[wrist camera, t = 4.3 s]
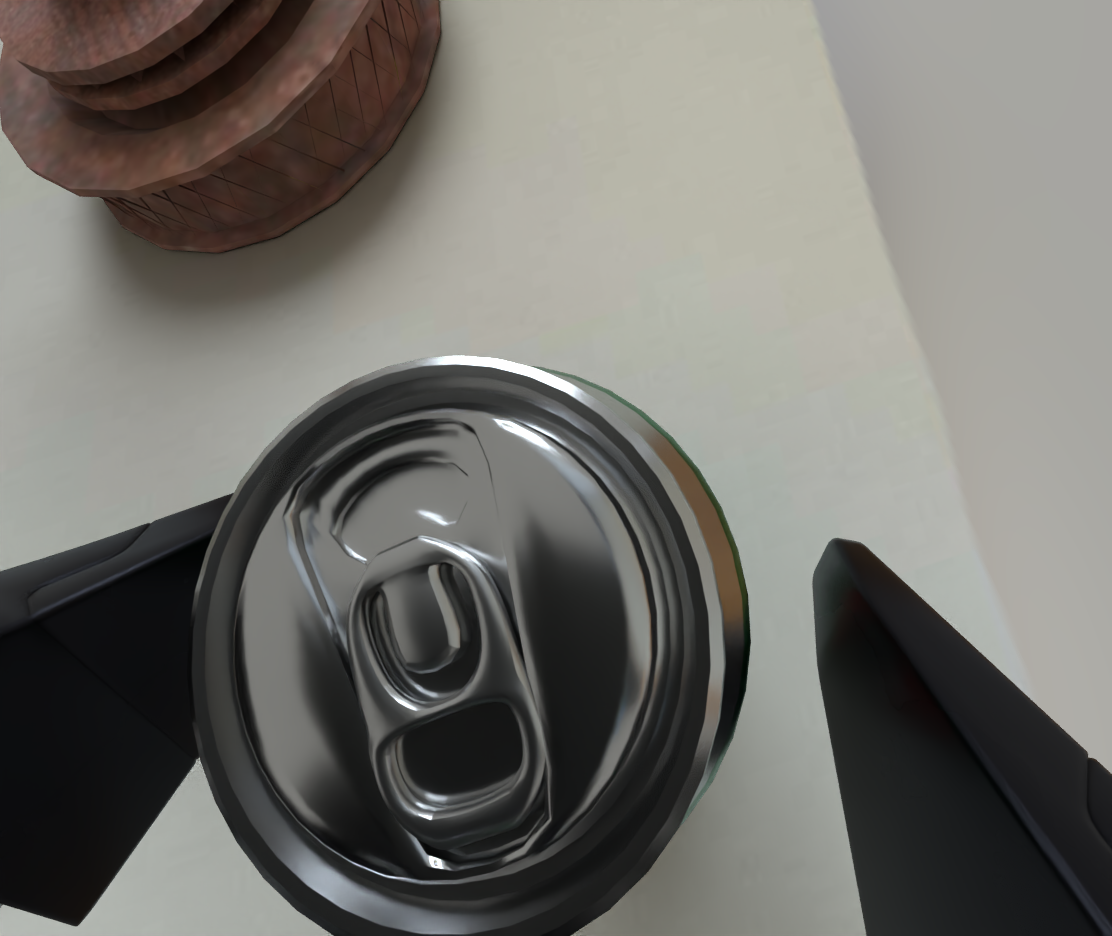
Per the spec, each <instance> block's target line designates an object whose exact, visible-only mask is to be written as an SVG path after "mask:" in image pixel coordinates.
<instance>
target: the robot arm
mask: <svg viewBox="0 0 1112 936" xmlns="http://www.w3.org/2000/svg"><path fill="white" fill-rule="evenodd" d="M233 494H234V493H232V494H229V495H226V496H223V497H221V498H218V499H215V500H212V501H209V502H206V503H204V504H201V505H198V506H195V507H192V508H189V509H187V510H184V511H181V512H178V513H175V514H173V515H170V516H167V517H164V518H161V519H158V520H156V521H153V522H152V523H147V524H144V525H141V526H138V527H136V528H133V529H130V530H127V531H124V532H121V533H118V534H115V535H113V536H110V537H107V538H104V539H101V540H98V541H95V542H92V543H89V544H86V545H83V546H80V547H77V548H74V549H71V550H68V551H64V552H61V553H58V554H55V555H52V556H49V557H46V558H42V559H39V560H36V561H33V562H30V563H26V564H23V565H20V566H17V567H14V568H10V569H7V570H4V571H1V572H0V907H1V906H2V905H3V904H4V905H7V906H10V907H14V908H17V909H20V910H23V911H27V912H30V913H33V914H36V915H40V916H43V917H46V918H50V919H53V920H56V921H59V922H63V923H66V924H69V925H72V926H78V925H79V924H80V923H81V922H82V921H83V920H84V918H85V917H86V916H87V915H88V914H89V912H90V911H91V910H92V908H93V907H94V906H95V904H96V903H97V902H98V900H99V899H100V897H101V896H102V894H103V893H104V892H105V890H106V889H107V887H108V886H109V885H110V883H111V882H112V880H113V879H114V878H115V876H116V875H117V873H118V872H119V870H120V869H121V868H122V866H123V865H124V863H125V862H126V861H127V859H128V858H129V856H130V855H131V854H132V852H133V851H134V849H135V848H136V846H137V845H138V844H139V842H140V841H141V839H142V838H143V837H144V835H145V834H146V832H147V831H148V829H149V828H150V827H151V825H152V824H153V822H154V821H155V820H156V818H157V817H158V815H159V814H160V813H161V811H162V810H163V808H164V807H165V805H166V804H167V803H168V801H169V800H170V798H171V797H172V796H173V794H174V793H175V791H176V790H177V788H178V787H179V786H180V784H181V783H182V781H183V780H184V779H185V777H186V776H187V774H188V773H189V772H190V770H191V769H192V767H193V766H194V764H195V763H196V759H198V758H199V752H198V747H197V743H196V738H195V734H194V729H193V725H192V720H191V713H190V702H189V690H188V679H187V663H188V635H189V626H190V620H191V613H192V607H193V601H194V595H195V589H196V586H197V582H198V579H199V575H200V572H201V568H202V565H203V561H204V558H205V554H206V551H207V548H208V546H209V544H210V541H211V539H212V536H213V534H214V532H215V529H216V527H217V525H218V522H219V520H220V517H221V515H222V513H223V511H224V510H225V508H226V506H227V504H228V503H229V501H230V499H231V497H232V496H233ZM813 601H814V619H815V637H816V654H817V666H818V673H819V679H820V685H821V690H822V696H823V701H824V707H825V712H826V718H827V723H828V728H829V734H830V739H831V745H832V750H833V756H834V761H835V766H836V772H837V777H838V783H839V788H840V794H841V799H842V804H843V810H844V815H845V821H846V826H847V832H848V837H849V842H850V848H851V853H852V859H853V864H854V870H855V875H856V880H857V886H858V891H859V897H860V902H861V908H862V913H863V918H864V924H865V929H866V935H867V936H1112V774H1111V773H1110V772H1109V771H1108V770H1107V769H1105V768H1104V767H1103V766H1102V765H1101V764H1100V763H1099V762H1098V761H1097V760H1095V759H1093V758H1088V753H1087V751H1086V750H1085V749H1084V748H1083V747H1081V746H1080V745H1079V744H1078V743H1077V742H1076V741H1075V740H1074V739H1073V738H1072V737H1071V736H1070V735H1068V734H1067V733H1066V732H1065V731H1064V730H1063V729H1062V728H1061V727H1060V726H1059V725H1058V724H1057V723H1055V722H1054V721H1053V720H1052V719H1051V718H1050V717H1049V716H1048V715H1047V714H1046V713H1045V712H1044V711H1043V710H1042V709H1041V708H1039V707H1038V706H1037V705H1036V704H1035V703H1034V702H1033V701H1032V700H1031V699H1030V698H1029V697H1028V696H1027V695H1025V694H1024V693H1023V692H1022V691H1021V690H1020V689H1019V688H1018V687H1017V686H1016V685H1015V684H1014V683H1013V682H1011V681H1010V680H1009V679H1008V678H1007V677H1006V676H1005V675H1004V674H1003V673H1002V672H1001V671H1000V670H998V669H997V668H996V667H995V666H994V665H993V664H992V663H991V662H990V661H989V660H988V659H987V658H986V657H984V656H983V655H982V654H981V653H980V652H979V651H978V650H977V649H976V648H975V647H974V646H973V645H972V644H970V643H969V642H968V641H967V640H966V639H965V638H964V637H963V636H962V635H961V634H960V633H959V632H958V631H956V630H955V629H954V628H953V627H952V626H951V625H950V624H949V623H948V622H947V621H946V620H945V619H944V618H942V617H941V616H940V615H939V614H938V613H937V612H936V611H935V610H934V609H933V608H932V607H931V606H929V605H928V604H927V603H926V602H925V601H924V600H923V599H922V598H921V597H920V596H919V595H918V594H917V593H915V592H914V591H913V590H912V589H911V588H910V587H909V586H908V585H907V584H906V583H905V582H904V581H903V580H901V579H900V578H899V577H898V576H897V575H896V574H895V573H894V572H893V571H892V570H891V569H890V568H889V567H887V566H886V565H885V564H884V563H883V562H882V561H881V560H880V559H879V558H878V557H877V556H876V555H875V554H873V553H872V552H871V551H870V550H869V549H868V548H867V547H866V546H865V545H863V544H862V543H860V542H857V541H852V540H846V539H840V538H834V539H832V540H831V541H830V542H829V543H828V545H827V547H826V549H825V551H824V553H823V555H822V557H821V559H820V561H819V563H818V565H817V567H816V569H815V571H814V574H813Z"/></svg>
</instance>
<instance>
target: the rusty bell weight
mask: <svg viewBox="0 0 1112 936" xmlns="http://www.w3.org/2000/svg"><path fill="white" fill-rule="evenodd" d="M440 33H441V30H440V16H439V2H438V0H0V39H1V40H2V42H3V49H2V54H1V59H0V116H1V124H2V130H3V132H4V133H5V135H6V136H7V138H8V139H9V141H10V142H11V144H12V145H13V147H14V148H15V150H16V151H17V152H18V154H19V155H20V157H21V158H22V160H23V161H24V163H25V164H26V166H27V167H28V168H29V169H31V170H32V171H33V172H34V173H36V174H37V175H39V176H41V177H43V178H45V179H47V180H49V181H51V182H53V183H55V184H57V185H59V186H60V187H62V188H64V189H66V190H68V191H70V192H72V193H74V194H76V195H78V196H83V197H100V198H102V199H103V200H104V202H105V203H106V205H107V206H108V207H109V209H110V210H111V212H112V213H113V214H114V216H115V217H116V219H117V220H118V221H119V223H120V224H121V225H122V227H123V228H125V229H127V230H129V231H130V232H132V233H134V234H136V235H138V236H140V237H142V238H144V239H146V240H148V241H150V242H151V243H153V244H155V245H157V246H159V247H161V248H163V249H167V250H181V251H197V252H214V253H221V252H224V251H228V250H232V249H235V248H239V247H242V246H246V245H250V244H253V243H257V242H260V241H264V240H267V239H271V238H275V237H278V236H280V235H282V234H283V233H285V232H287V231H288V230H290V229H292V228H293V227H295V226H297V225H298V224H300V223H302V222H303V221H305V220H307V219H308V218H310V217H312V216H313V215H315V214H317V213H318V212H320V211H322V210H323V209H325V208H327V207H328V206H330V205H332V204H333V203H335V202H337V201H338V200H339V199H340V198H341V197H342V196H343V195H344V194H345V193H346V192H347V191H348V190H349V189H350V188H351V187H352V186H353V185H354V184H355V183H356V182H357V181H358V180H359V179H360V178H361V177H362V176H363V175H364V174H365V173H366V172H367V171H368V170H369V169H370V168H371V167H372V166H373V165H374V164H375V163H376V162H377V161H378V160H379V159H380V158H381V157H382V156H383V155H384V154H385V153H386V152H387V151H388V150H389V149H390V147H391V145H392V144H393V142H394V141H395V139H396V137H397V136H398V134H399V132H400V131H401V129H402V127H403V126H404V124H405V122H406V121H407V119H408V118H409V116H410V114H411V113H412V111H413V109H414V108H415V106H416V104H417V103H418V101H419V99H420V98H421V96H422V95H423V93H424V91H425V87H426V84H427V80H428V76H429V73H430V69H431V66H432V62H433V58H434V55H435V51H436V47H437V44H438V40H439V37H440Z"/></svg>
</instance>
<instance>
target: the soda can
mask: <svg viewBox="0 0 1112 936" xmlns="http://www.w3.org/2000/svg"><path fill="white" fill-rule="evenodd" d="M750 645H751V638H750V621H749V605H748V593H747V588H746V584H745V579H744V575H743V570H742V566H741V561H740V557H739V552H738V548H737V546H736V543H735V541H734V538H733V536H732V533H731V531H730V528H729V526H728V523H727V521H726V518H725V515H724V513H723V510H722V508H721V506H720V504H719V503H718V501H717V499H716V497H715V496H714V494H713V492H712V491H711V489H710V487H709V486H708V484H707V482H706V481H705V479H704V477H703V475H702V474H701V472H700V470H699V469H698V468H697V467H696V465H695V464H694V463H693V462H692V460H691V459H690V458H689V457H688V456H687V454H686V453H685V452H684V451H683V450H682V448H681V447H680V446H679V445H678V444H677V442H676V441H675V440H674V439H673V437H671V436H670V435H669V434H668V433H667V432H666V431H665V430H663V429H662V428H661V427H660V426H659V425H658V424H657V423H655V422H654V421H653V420H652V419H651V418H650V417H649V416H648V415H646V414H645V413H644V412H643V411H642V410H640V409H638V408H637V407H635V406H634V405H632V404H631V403H629V402H627V401H626V400H624V399H623V398H621V397H619V396H618V395H616V394H615V393H613V392H612V391H610V390H608V389H605V388H603V387H601V386H598V385H596V384H594V383H591V382H589V381H587V380H584V379H582V378H580V377H577V376H575V375H571V374H567V373H563V372H559V371H555V370H550V369H546V368H542V367H535V366H524V365H520V364H516V363H512V362H508V361H504V360H500V359H495V358H483V357H471V356H448V357H435V358H422V359H418V360H414V361H409V362H405V363H401V364H397V365H392V366H388V367H385V368H383V369H380V370H378V371H375V372H373V373H370V374H368V375H365V376H363V377H360V378H358V379H355V380H353V381H351V382H349V383H347V384H346V385H344V386H342V387H340V388H339V389H337V390H335V391H334V392H332V393H330V394H328V395H327V396H325V397H323V398H322V399H320V400H319V401H317V402H316V403H315V404H314V405H312V406H311V407H310V408H308V409H307V410H306V411H305V412H303V413H302V414H301V415H299V416H298V417H297V418H296V419H294V420H293V421H292V422H291V423H290V424H289V425H288V426H287V427H286V428H285V429H284V430H283V431H282V432H281V433H280V434H279V435H278V436H277V437H276V438H275V439H274V440H273V441H272V442H271V443H270V444H269V445H268V446H267V447H266V448H265V449H264V451H263V452H262V453H261V455H260V456H259V457H258V459H257V460H256V461H255V463H254V464H253V465H252V467H251V468H250V469H249V471H248V472H247V473H246V475H245V476H244V477H243V479H242V480H241V482H240V483H239V485H238V487H237V489H236V490H235V492H234V494H233V496H232V497H231V499H230V501H229V503H228V504H227V506H226V508H225V510H224V511H223V513H222V515H221V517H220V520H219V522H218V525H217V527H216V529H215V532H214V534H213V536H212V539H211V541H210V544H209V546H208V548H207V551H206V554H205V558H204V561H203V565H202V568H201V572H200V575H199V579H198V582H197V586H196V589H195V595H194V601H193V607H192V613H191V620H190V626H189V635H188V663H187V679H188V690H189V702H190V713H191V720H192V725H193V729H194V734H195V738H196V743H197V747H198V752H199V757H200V761H201V763H202V766H203V769H204V772H205V774H206V777H207V780H208V783H209V786H210V788H211V791H212V794H213V797H214V799H215V802H216V804H217V806H218V808H219V810H220V811H221V813H222V815H223V817H224V819H225V821H226V823H227V825H228V826H229V828H230V830H231V832H232V834H233V836H234V838H235V840H236V841H237V843H238V844H239V846H240V847H241V848H242V850H243V851H244V852H245V854H246V855H247V856H248V858H249V859H250V860H251V862H252V863H253V864H254V866H255V867H256V868H257V870H258V871H259V872H260V874H261V875H262V877H263V878H264V879H265V880H266V881H267V882H268V883H269V884H270V885H271V886H272V887H273V888H274V889H275V890H276V891H277V892H278V893H279V894H281V895H282V896H283V897H284V898H285V899H286V900H287V901H288V902H289V903H290V904H291V905H292V906H293V907H294V908H295V909H296V910H297V911H299V912H300V913H302V914H303V915H304V916H306V917H307V918H309V919H310V920H312V921H313V922H315V923H316V924H318V925H319V926H321V927H322V928H323V929H325V930H326V931H328V932H329V933H331V934H332V935H334V936H570V935H572V934H573V933H575V932H576V931H578V930H579V929H581V928H582V927H584V926H585V925H587V924H589V923H590V922H592V921H593V920H595V919H596V918H598V917H599V916H601V915H602V914H604V913H605V912H607V911H608V910H610V909H611V908H612V907H613V906H614V905H615V904H616V903H617V902H618V901H619V900H620V899H621V898H622V897H623V896H624V895H625V894H626V893H627V892H628V891H629V890H630V889H631V888H632V887H633V886H634V885H635V884H636V883H637V882H638V881H639V880H640V879H641V878H642V877H643V876H644V875H645V874H646V873H647V872H648V871H649V870H650V868H651V867H652V865H653V864H654V862H655V861H656V860H657V858H658V857H659V855H660V854H661V852H662V851H663V850H664V848H665V847H666V845H667V844H668V842H669V841H670V840H671V838H672V837H673V835H674V834H675V833H676V831H677V830H678V828H679V827H680V826H681V825H682V824H683V823H684V822H685V820H686V819H687V817H688V816H689V815H690V813H691V812H692V810H693V809H694V807H695V806H696V805H697V803H698V802H699V800H700V799H701V797H702V796H703V795H704V793H705V792H706V790H707V789H708V788H709V786H710V785H711V783H712V782H713V780H714V778H715V775H716V773H717V771H718V769H719V767H720V765H721V762H722V760H723V758H724V756H725V754H726V752H727V750H728V747H729V745H730V743H731V741H732V739H733V736H734V732H735V729H736V725H737V721H738V718H739V714H740V710H741V707H742V703H743V699H744V696H745V692H746V684H747V674H748V665H749V655H750Z"/></svg>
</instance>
